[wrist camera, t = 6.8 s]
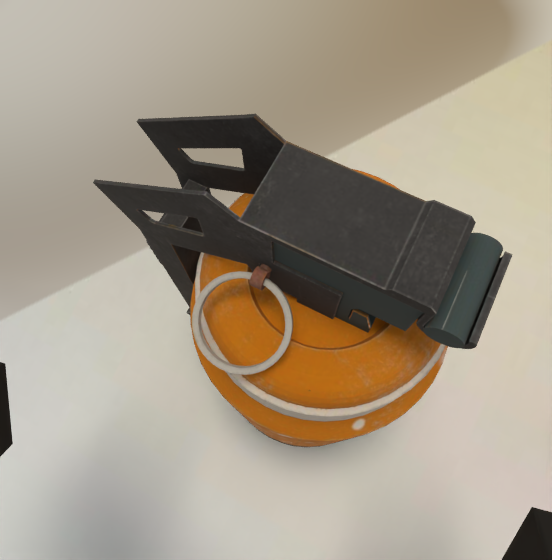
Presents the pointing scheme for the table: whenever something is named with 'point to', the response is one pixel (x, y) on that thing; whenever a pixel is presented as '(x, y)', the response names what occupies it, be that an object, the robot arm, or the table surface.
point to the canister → (311, 279)
